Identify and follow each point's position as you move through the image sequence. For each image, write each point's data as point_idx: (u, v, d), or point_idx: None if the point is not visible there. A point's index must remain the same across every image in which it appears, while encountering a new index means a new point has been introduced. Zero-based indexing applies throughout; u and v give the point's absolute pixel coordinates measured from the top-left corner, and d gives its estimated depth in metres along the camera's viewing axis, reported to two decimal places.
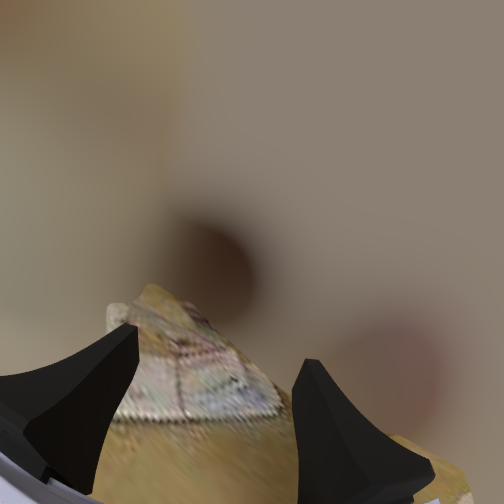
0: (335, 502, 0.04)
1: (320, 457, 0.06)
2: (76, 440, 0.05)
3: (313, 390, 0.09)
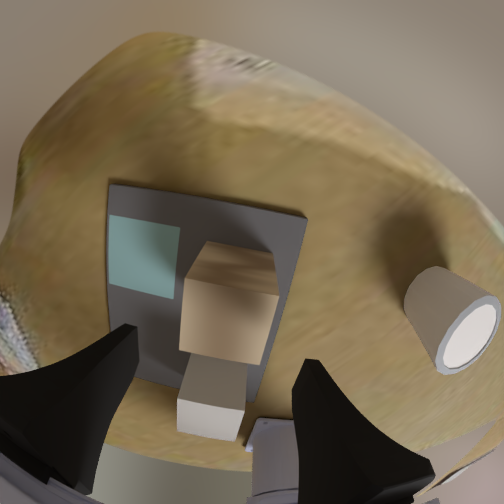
0: (335, 502, 0.04)
1: (320, 457, 0.06)
2: (76, 440, 0.05)
3: (313, 390, 0.09)
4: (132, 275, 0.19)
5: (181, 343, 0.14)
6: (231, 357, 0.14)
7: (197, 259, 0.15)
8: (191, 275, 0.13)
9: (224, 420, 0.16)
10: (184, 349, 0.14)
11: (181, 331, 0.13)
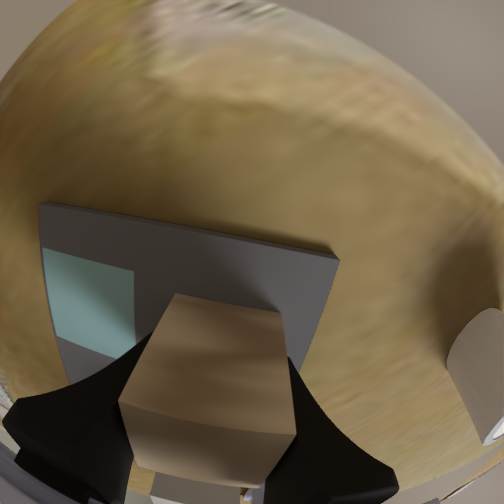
0: None
1: (281, 457, 0.06)
2: (114, 456, 0.05)
3: None
4: (81, 330, 0.12)
5: (139, 462, 0.07)
6: (215, 482, 0.07)
7: (150, 344, 0.08)
8: (131, 392, 0.06)
9: None
10: (145, 467, 0.07)
11: (134, 453, 0.06)
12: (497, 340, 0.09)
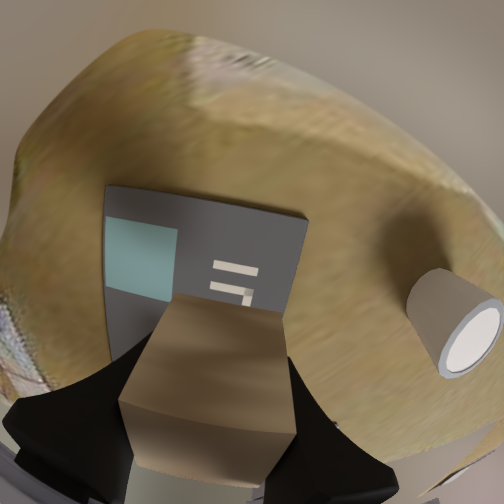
0: None
1: (281, 457, 0.06)
2: (114, 456, 0.05)
3: None
4: (129, 278, 0.19)
5: (139, 461, 0.07)
6: (215, 481, 0.07)
7: (150, 343, 0.08)
8: (131, 391, 0.06)
9: None
10: (145, 466, 0.07)
11: (134, 452, 0.06)
12: (441, 287, 0.16)
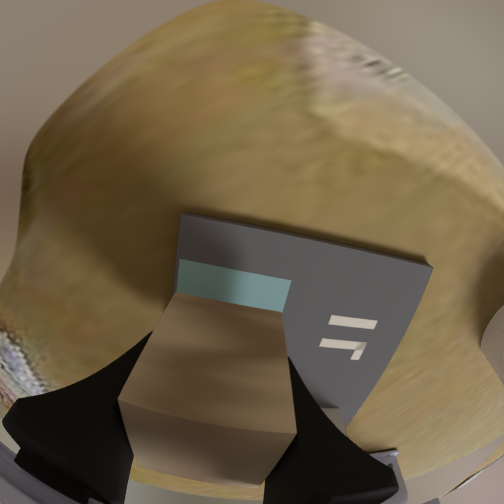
0: None
1: (281, 457, 0.06)
2: (114, 456, 0.05)
3: None
4: None
5: (138, 461, 0.07)
6: (215, 481, 0.07)
7: (149, 343, 0.08)
8: (131, 391, 0.06)
9: None
10: (144, 466, 0.07)
11: (134, 452, 0.06)
12: None
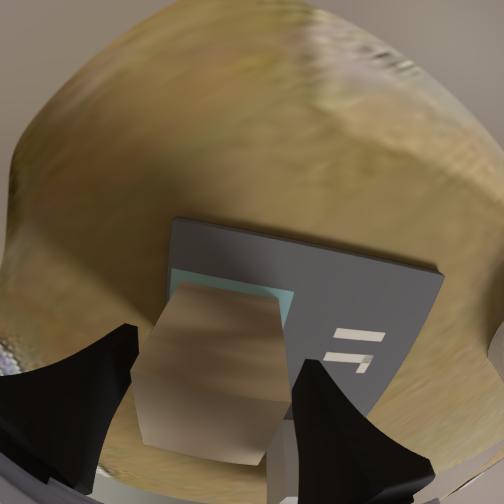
0: (335, 502, 0.04)
1: (320, 457, 0.06)
2: (76, 440, 0.05)
3: (313, 390, 0.09)
4: None
5: (144, 439, 0.08)
6: (217, 458, 0.08)
7: (158, 323, 0.09)
8: (142, 364, 0.07)
9: None
10: (150, 444, 0.08)
11: (141, 428, 0.07)
12: None
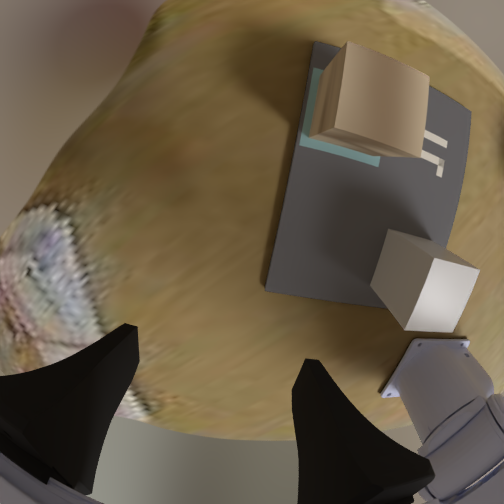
0: (335, 502, 0.04)
1: (320, 457, 0.06)
2: (76, 440, 0.05)
3: (313, 390, 0.09)
4: None
5: (339, 116, 0.10)
6: (394, 141, 0.10)
7: (335, 58, 0.11)
8: None
9: (460, 290, 0.12)
10: (341, 126, 0.10)
11: (340, 99, 0.10)
12: None
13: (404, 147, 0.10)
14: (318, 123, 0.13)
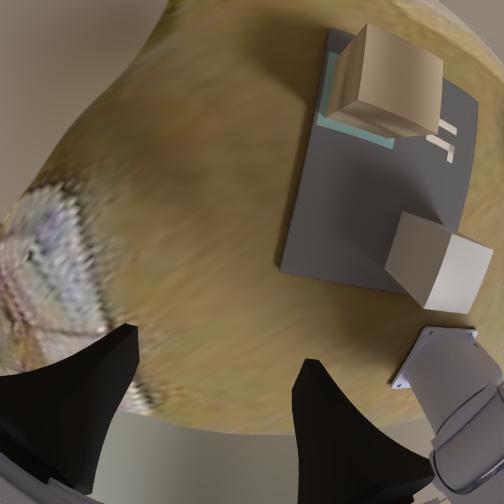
0: (335, 502, 0.04)
1: (320, 457, 0.06)
2: (76, 440, 0.05)
3: (313, 390, 0.09)
4: None
5: (362, 90, 0.09)
6: (413, 117, 0.10)
7: (353, 41, 0.10)
8: None
9: (476, 270, 0.12)
10: (364, 99, 0.10)
11: (363, 74, 0.09)
12: None
13: (422, 123, 0.10)
14: (337, 101, 0.13)
